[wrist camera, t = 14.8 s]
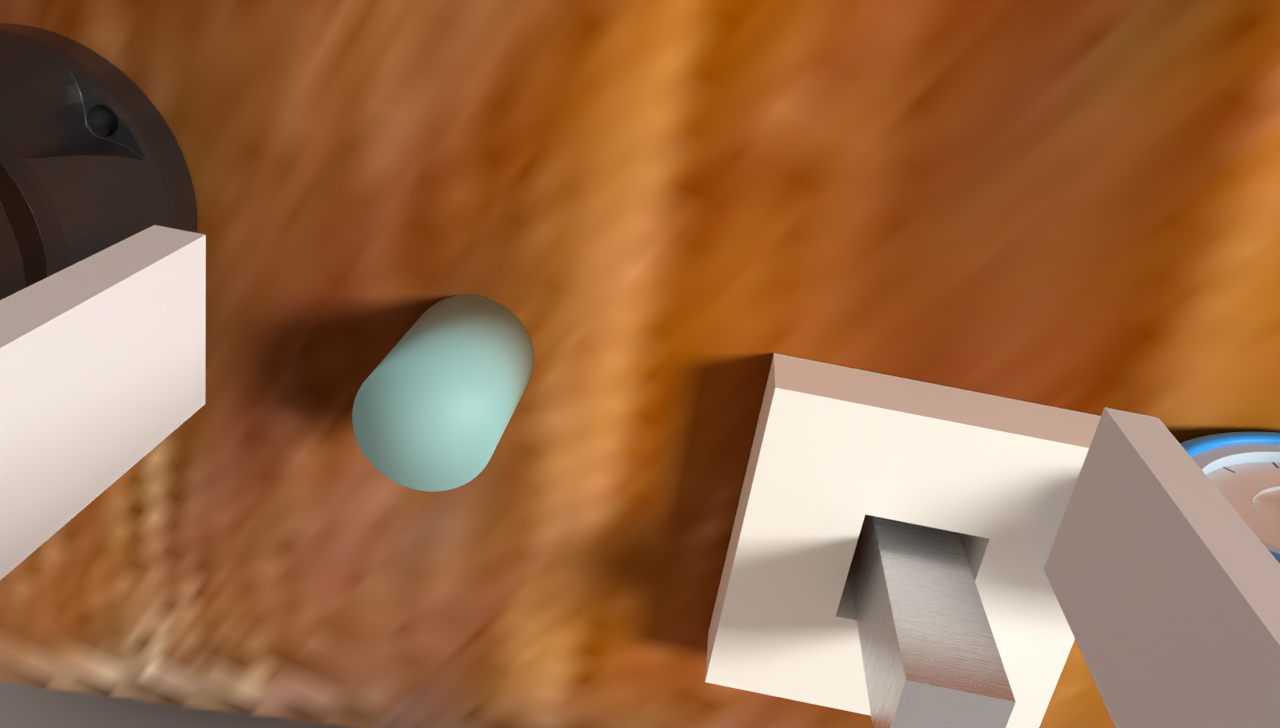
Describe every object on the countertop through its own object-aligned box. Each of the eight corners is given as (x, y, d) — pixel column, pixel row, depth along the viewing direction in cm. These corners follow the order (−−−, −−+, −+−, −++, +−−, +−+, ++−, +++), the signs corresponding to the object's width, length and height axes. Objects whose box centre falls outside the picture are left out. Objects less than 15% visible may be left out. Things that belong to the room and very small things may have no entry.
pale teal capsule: (406, 398, 52) (348, 476, 44) (416, 283, 49) (356, 346, 42) (526, 421, 51) (487, 503, 44) (541, 307, 49) (503, 374, 42)
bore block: (708, 631, 55) (705, 681, 51) (773, 353, 49) (775, 387, 45) (1012, 692, 54) (1030, 747, 51) (1117, 419, 48) (1147, 459, 45)
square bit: (847, 559, 52) (878, 763, 40) (867, 490, 51) (906, 680, 38) (927, 575, 52) (983, 785, 39) (949, 506, 51) (1015, 701, 38)
